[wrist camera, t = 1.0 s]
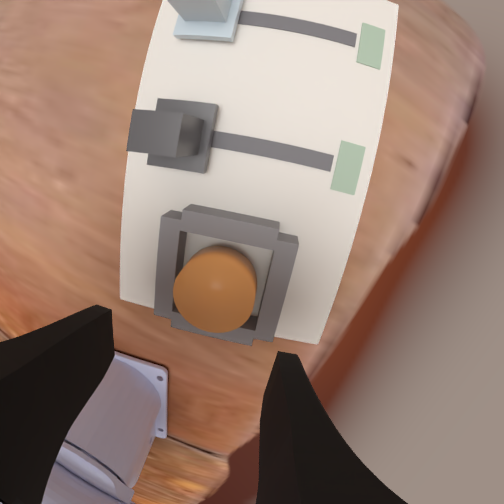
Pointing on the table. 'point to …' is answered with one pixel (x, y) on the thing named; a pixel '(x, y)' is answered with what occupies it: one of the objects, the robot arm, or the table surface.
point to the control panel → (263, 158)
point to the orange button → (216, 289)
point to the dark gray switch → (174, 134)
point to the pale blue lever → (206, 19)
